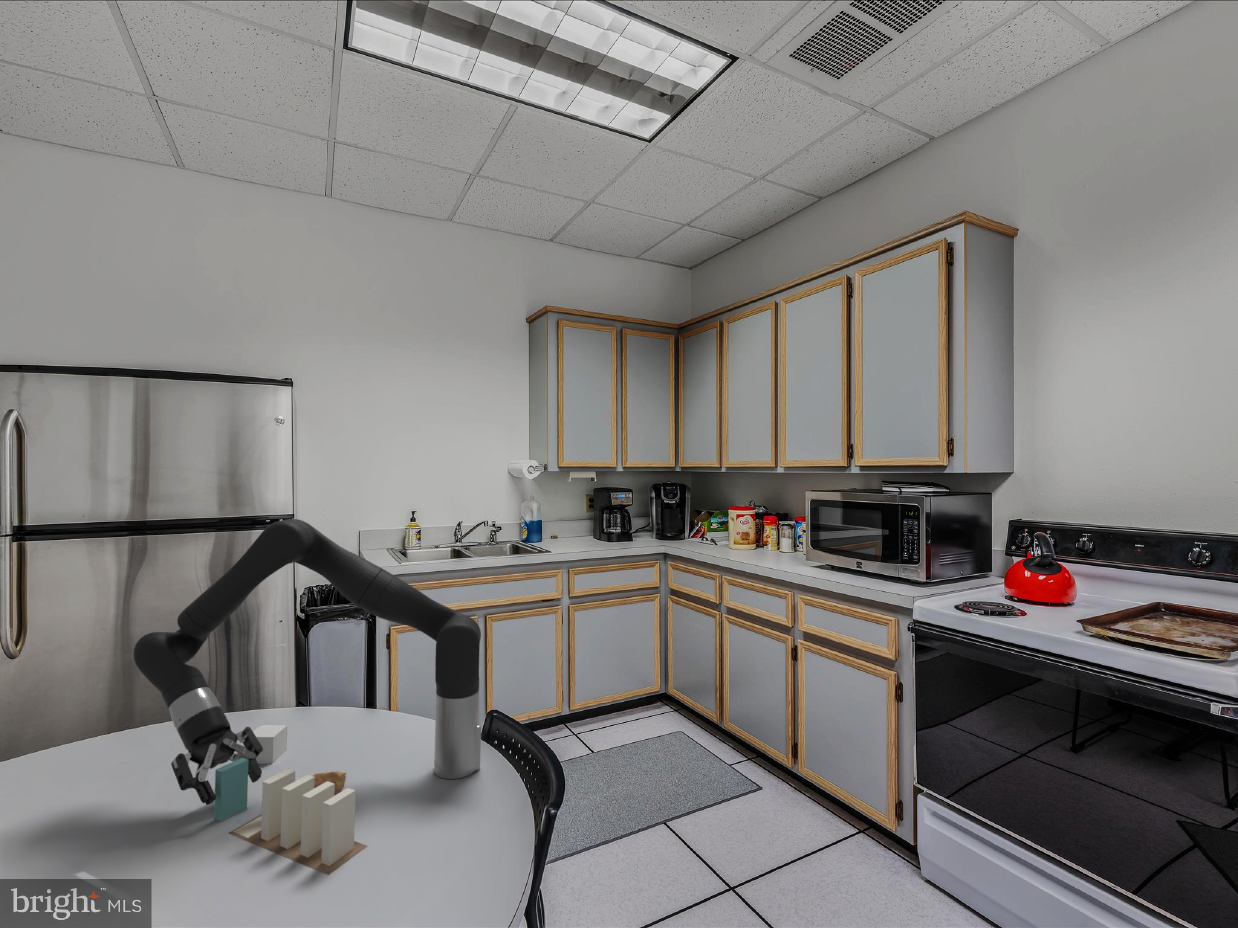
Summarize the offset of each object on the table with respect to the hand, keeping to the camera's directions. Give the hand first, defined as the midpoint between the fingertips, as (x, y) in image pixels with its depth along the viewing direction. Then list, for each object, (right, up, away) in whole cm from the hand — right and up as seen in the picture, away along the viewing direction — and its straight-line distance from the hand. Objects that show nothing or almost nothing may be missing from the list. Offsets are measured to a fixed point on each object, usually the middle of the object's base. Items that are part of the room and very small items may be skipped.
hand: (235, 790), depth 110 cm
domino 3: (+20, -5, -9) cm, 22 cm away
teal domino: (-1, -5, 0) cm, 5 cm away
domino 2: (+15, -5, -7) cm, 18 cm away
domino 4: (+24, -5, -11) cm, 27 cm away
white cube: (-8, -6, +23) cm, 26 cm away
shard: (+13, -7, +12) cm, 19 cm away
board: (+15, -6, -7) cm, 18 cm away
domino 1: (+11, -5, -5) cm, 13 cm away
